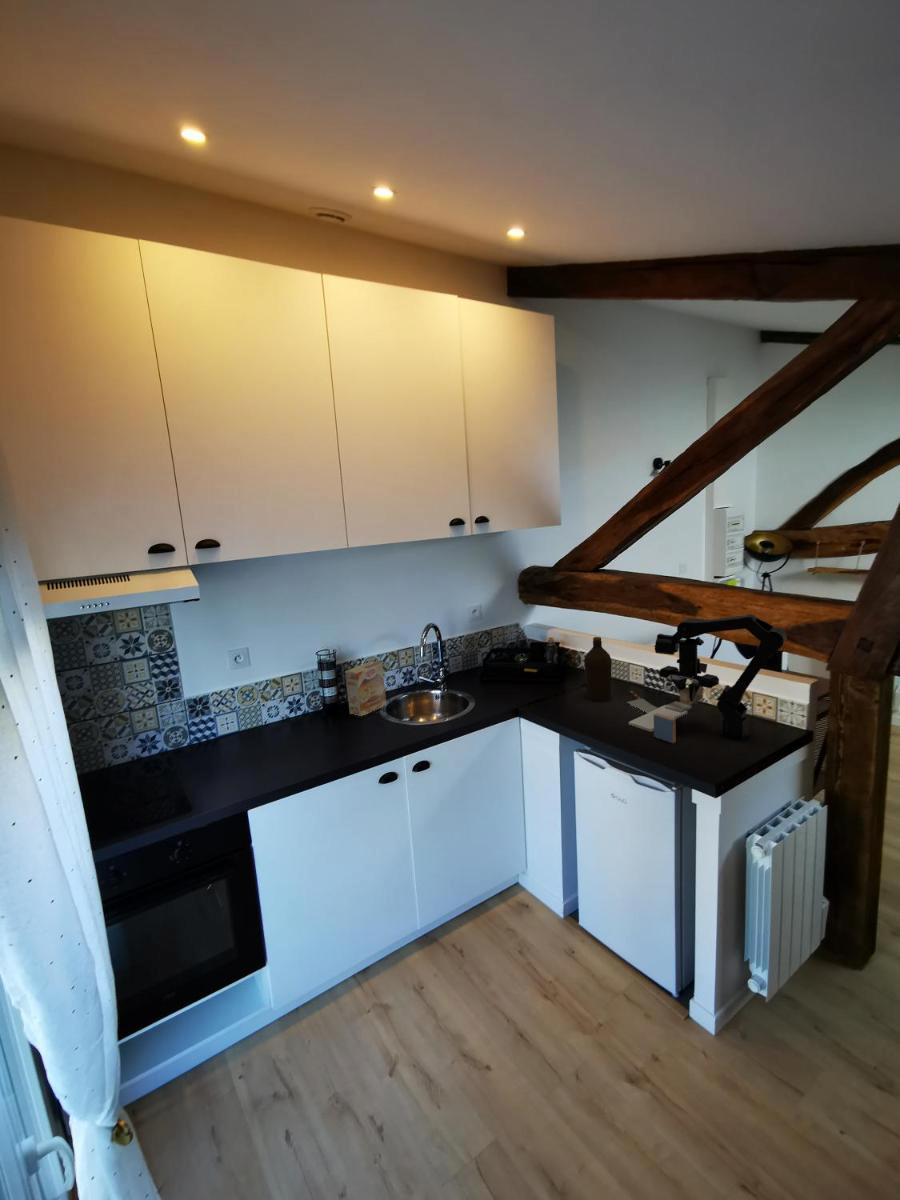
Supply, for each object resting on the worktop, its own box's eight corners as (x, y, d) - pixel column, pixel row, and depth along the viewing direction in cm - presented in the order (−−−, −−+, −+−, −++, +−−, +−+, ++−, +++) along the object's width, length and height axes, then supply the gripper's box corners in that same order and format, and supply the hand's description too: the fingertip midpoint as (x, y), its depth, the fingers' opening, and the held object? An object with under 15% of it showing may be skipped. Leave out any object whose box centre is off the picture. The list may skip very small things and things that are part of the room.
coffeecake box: (361, 720, 223) (356, 673, 219) (349, 717, 227) (344, 670, 223) (387, 707, 234) (382, 662, 231) (375, 704, 239) (370, 660, 235)
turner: (691, 695, 197) (691, 682, 197) (707, 699, 193) (707, 686, 192) (664, 708, 188) (664, 694, 187) (681, 712, 183) (681, 698, 183)
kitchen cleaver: (613, 693, 228) (637, 689, 229) (614, 695, 228) (637, 691, 229) (639, 716, 204) (665, 711, 205) (639, 718, 204) (665, 714, 205)
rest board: (687, 713, 203) (687, 711, 203) (651, 731, 191) (651, 729, 191) (665, 707, 211) (665, 704, 210) (628, 724, 198) (628, 721, 198)
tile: (675, 741, 182) (675, 718, 181) (672, 743, 181) (672, 720, 180) (656, 735, 188) (656, 713, 186) (653, 737, 187) (653, 714, 185)
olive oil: (617, 696, 225) (616, 636, 221) (603, 704, 218) (601, 642, 214) (595, 691, 233) (593, 633, 229) (580, 699, 226) (578, 639, 222)
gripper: (727, 655, 185) (727, 700, 188) (676, 646, 200) (676, 688, 203) (709, 663, 179) (709, 709, 182) (658, 653, 194) (658, 696, 197)
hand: (688, 700), depth 191 cm, fingers closed on turner, 2 cm apart
